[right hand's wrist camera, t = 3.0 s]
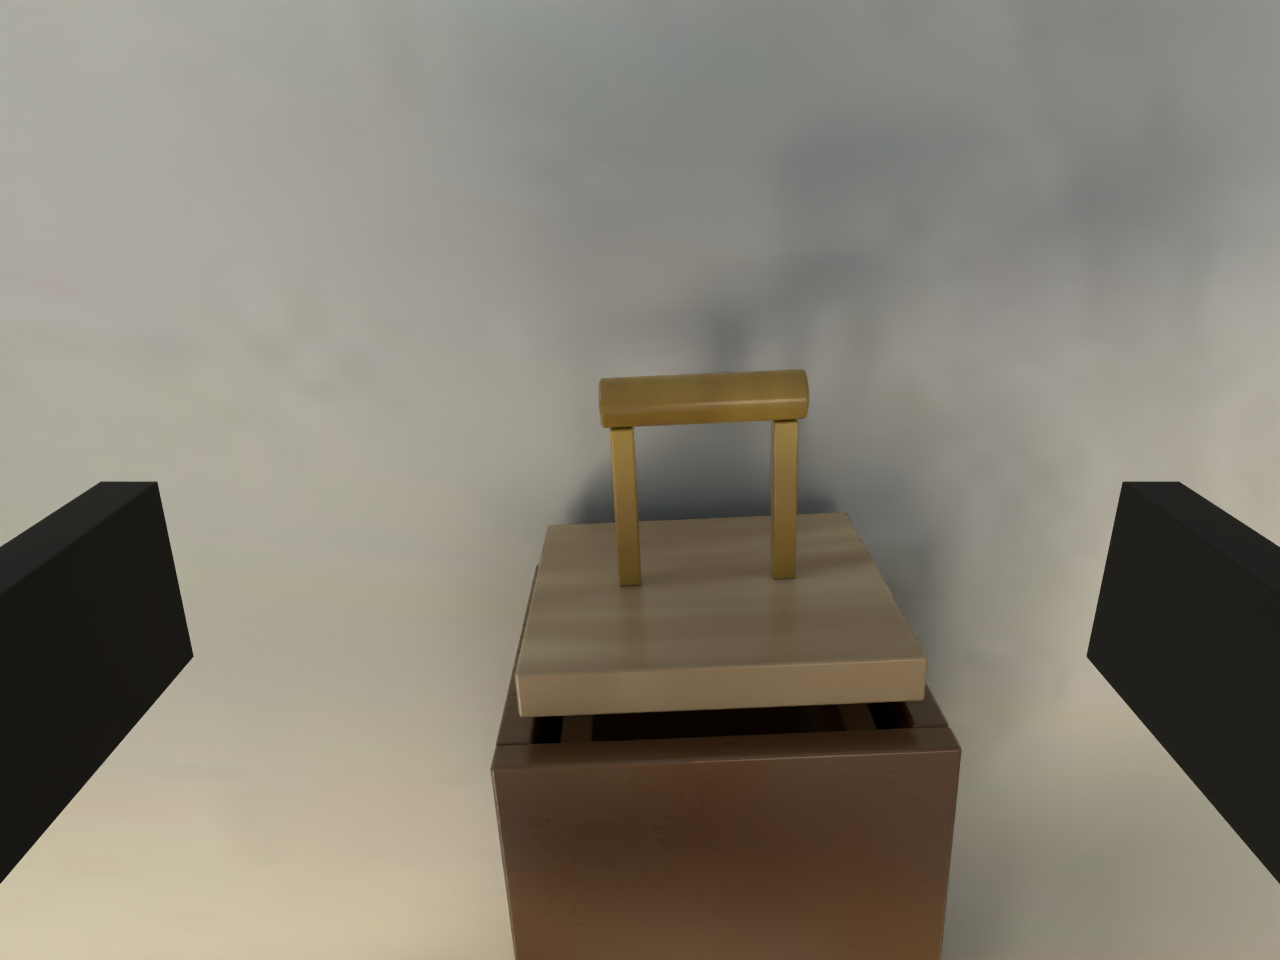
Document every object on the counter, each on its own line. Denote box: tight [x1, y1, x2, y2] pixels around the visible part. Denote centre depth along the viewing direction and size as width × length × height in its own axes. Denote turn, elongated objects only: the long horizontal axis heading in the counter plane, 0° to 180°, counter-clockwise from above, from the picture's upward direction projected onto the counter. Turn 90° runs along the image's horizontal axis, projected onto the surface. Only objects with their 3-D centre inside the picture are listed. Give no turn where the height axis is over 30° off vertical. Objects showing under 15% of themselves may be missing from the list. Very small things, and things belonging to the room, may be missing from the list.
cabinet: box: [491, 565, 961, 960], centre depth 28 cm, size 20×10×10 cm, turn 3°
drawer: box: [515, 369, 927, 743], centre depth 27 cm, size 24×9×8 cm, turn 3°
